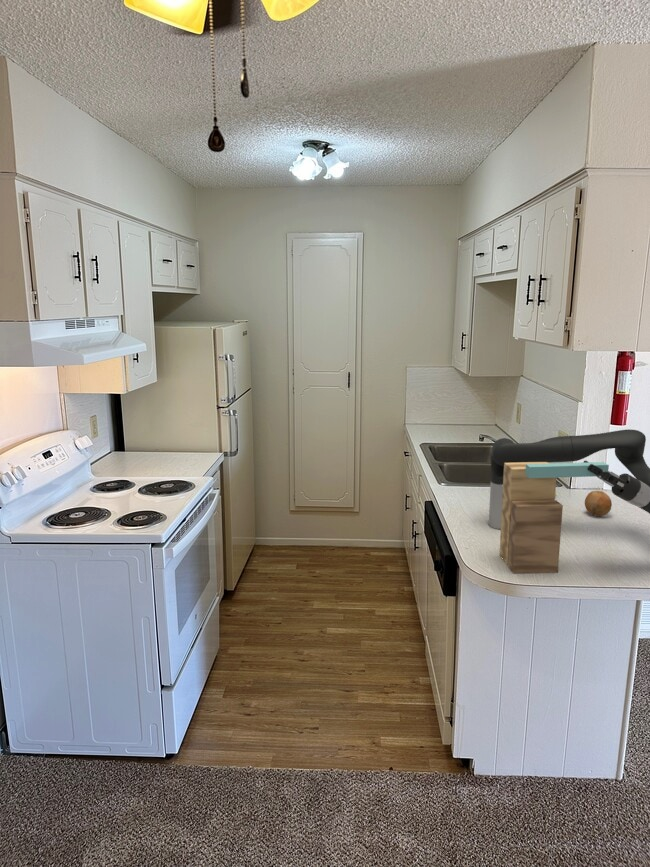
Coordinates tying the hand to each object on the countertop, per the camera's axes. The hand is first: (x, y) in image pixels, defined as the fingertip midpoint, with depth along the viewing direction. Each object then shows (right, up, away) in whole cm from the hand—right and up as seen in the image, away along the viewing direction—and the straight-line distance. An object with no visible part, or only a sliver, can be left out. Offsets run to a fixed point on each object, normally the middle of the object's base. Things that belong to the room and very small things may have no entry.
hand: (586, 465), depth 181 cm
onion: (+28, -23, +54) cm, 65 cm away
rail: (-6, -3, +1) cm, 7 cm away
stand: (-14, -32, +14) cm, 38 cm away
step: (-14, -33, +7) cm, 37 cm away
